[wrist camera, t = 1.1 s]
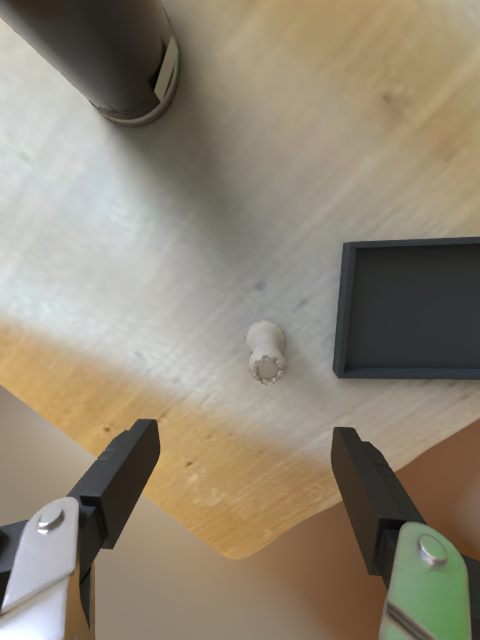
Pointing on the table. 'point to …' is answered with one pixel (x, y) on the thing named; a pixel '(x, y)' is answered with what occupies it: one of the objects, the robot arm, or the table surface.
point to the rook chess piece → (266, 351)
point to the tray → (409, 310)
